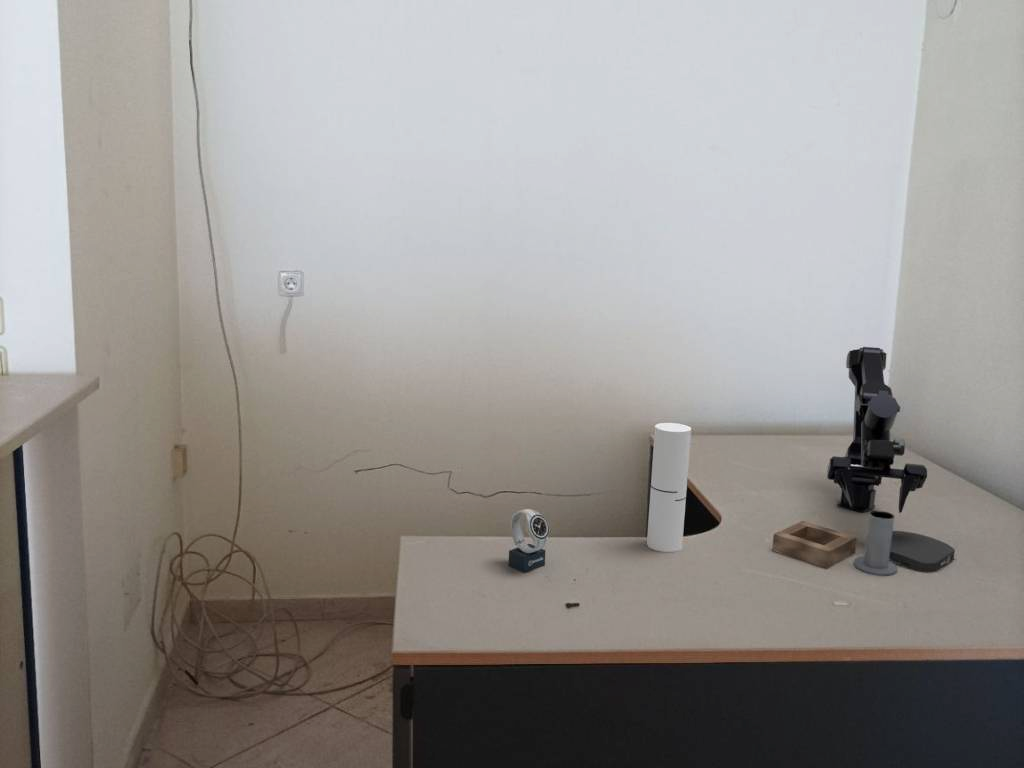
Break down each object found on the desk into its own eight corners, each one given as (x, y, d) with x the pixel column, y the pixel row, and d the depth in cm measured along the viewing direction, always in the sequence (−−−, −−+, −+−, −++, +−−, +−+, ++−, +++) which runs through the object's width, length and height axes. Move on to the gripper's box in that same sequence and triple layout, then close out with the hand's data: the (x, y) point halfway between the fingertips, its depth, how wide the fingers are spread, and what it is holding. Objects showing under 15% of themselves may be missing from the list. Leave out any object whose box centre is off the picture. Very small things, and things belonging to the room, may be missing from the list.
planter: (892, 568, 180) (899, 518, 178) (870, 569, 179) (877, 518, 177) (880, 559, 184) (886, 510, 182) (859, 559, 184) (865, 510, 182)
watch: (532, 576, 172) (534, 520, 170) (502, 563, 178) (504, 508, 175) (552, 568, 176) (555, 513, 174) (522, 555, 181) (524, 502, 179)
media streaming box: (889, 537, 199) (891, 524, 198) (959, 558, 189) (961, 544, 188) (858, 554, 189) (860, 540, 188) (930, 577, 179) (932, 563, 178)
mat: (846, 566, 182) (846, 563, 182) (864, 556, 187) (864, 553, 187) (886, 579, 176) (886, 576, 176) (903, 568, 182) (904, 565, 182)
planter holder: (772, 550, 189) (773, 534, 188) (801, 536, 197) (802, 520, 196) (827, 568, 180) (829, 551, 180) (855, 553, 189) (857, 536, 188)
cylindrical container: (643, 538, 192) (651, 422, 187) (677, 538, 193) (685, 422, 188) (651, 552, 185) (659, 431, 180) (686, 552, 186) (695, 432, 181)
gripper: (834, 418, 191) (833, 485, 183) (931, 427, 186) (934, 496, 178) (827, 445, 200) (826, 510, 192) (919, 454, 196) (922, 521, 187)
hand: (876, 509), depth 187 cm, fingers open, 9 cm apart
